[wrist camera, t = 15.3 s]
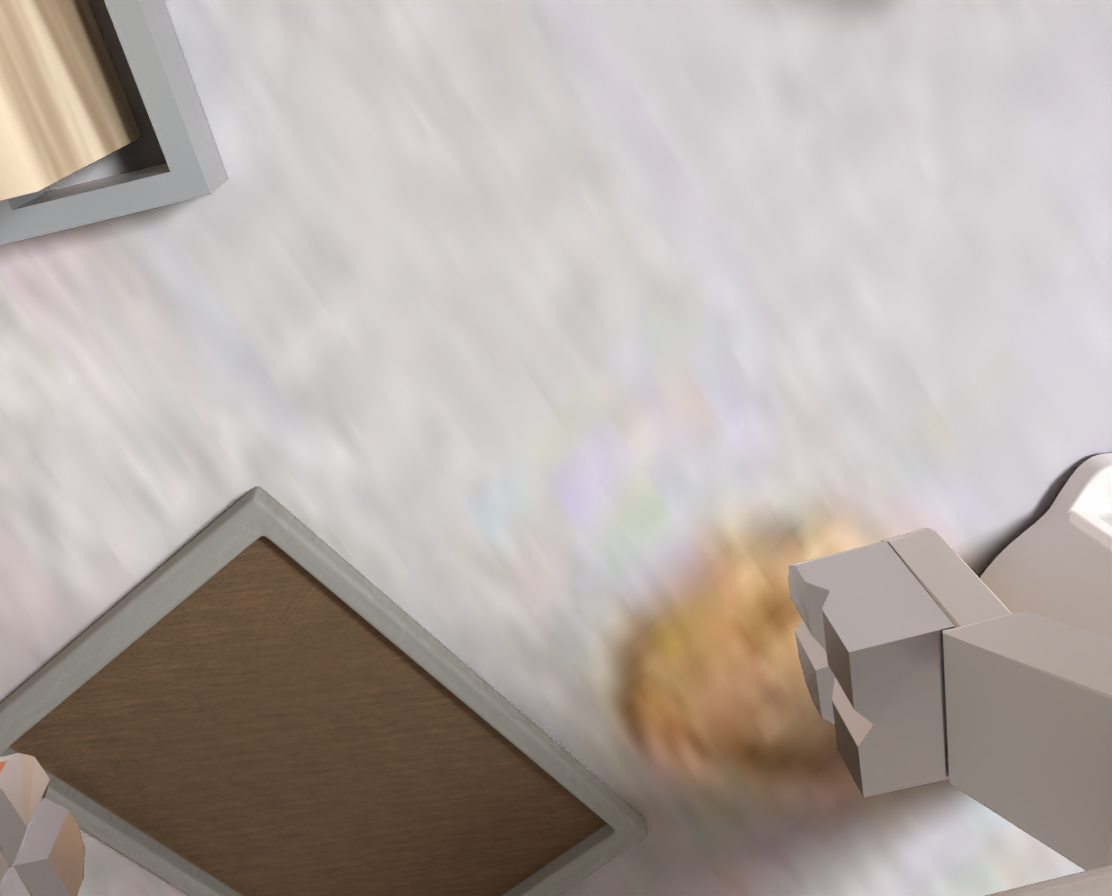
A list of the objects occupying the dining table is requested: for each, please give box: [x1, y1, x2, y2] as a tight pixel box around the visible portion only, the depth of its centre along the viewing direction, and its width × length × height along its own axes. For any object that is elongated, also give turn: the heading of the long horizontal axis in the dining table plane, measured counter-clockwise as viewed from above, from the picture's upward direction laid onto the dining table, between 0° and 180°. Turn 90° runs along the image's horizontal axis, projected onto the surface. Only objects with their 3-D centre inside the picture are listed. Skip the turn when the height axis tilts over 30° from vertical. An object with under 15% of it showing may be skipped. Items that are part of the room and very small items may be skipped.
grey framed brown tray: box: [0, 487, 647, 896], centre depth 49 cm, size 19×2×30 cm
